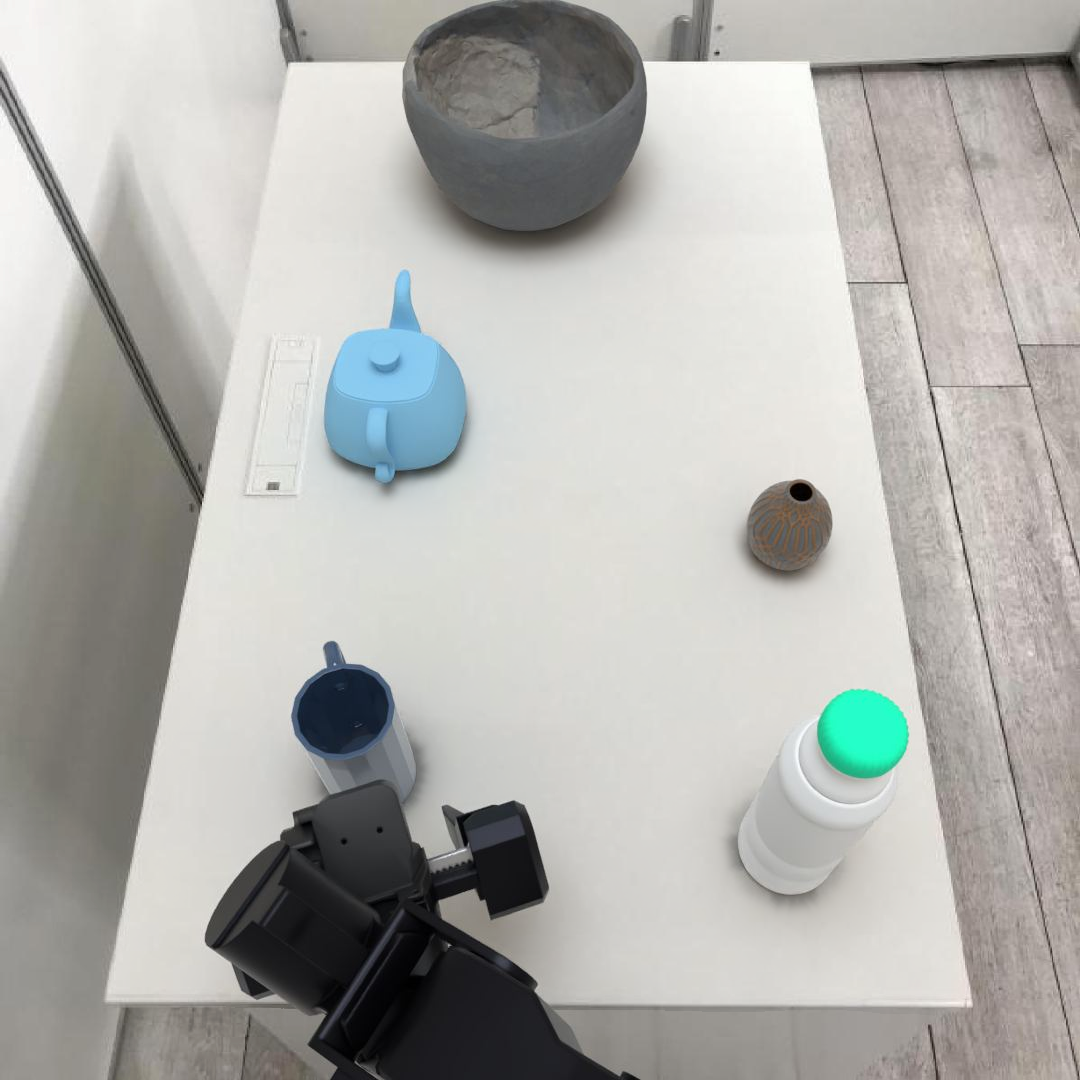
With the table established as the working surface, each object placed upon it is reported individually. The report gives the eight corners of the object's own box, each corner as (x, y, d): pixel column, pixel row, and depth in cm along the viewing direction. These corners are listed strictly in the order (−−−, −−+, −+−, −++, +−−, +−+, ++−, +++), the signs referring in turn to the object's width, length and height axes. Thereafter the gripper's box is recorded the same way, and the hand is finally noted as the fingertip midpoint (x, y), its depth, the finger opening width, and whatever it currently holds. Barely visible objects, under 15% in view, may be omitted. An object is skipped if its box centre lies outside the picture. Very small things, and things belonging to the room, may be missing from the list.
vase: (733, 570, 91) (750, 516, 83) (749, 505, 94) (766, 447, 87) (814, 591, 90) (838, 537, 82) (827, 524, 93) (851, 466, 86)
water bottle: (822, 910, 76) (924, 806, 55) (726, 878, 78) (789, 764, 56) (840, 818, 80) (944, 685, 58) (748, 788, 81) (816, 648, 60)
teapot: (472, 268, 95) (445, 430, 86) (479, 348, 104) (456, 503, 95) (332, 260, 96) (291, 420, 86) (352, 341, 105) (316, 493, 96)
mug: (426, 801, 81) (404, 741, 70) (338, 829, 80) (302, 772, 69) (394, 685, 86) (370, 612, 75) (311, 710, 85) (274, 639, 74)
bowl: (426, 111, 123) (411, -15, 110) (639, 114, 122) (648, -12, 109) (403, 265, 110) (383, 144, 97) (640, 270, 109) (651, 148, 96)
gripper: (530, 782, 56) (483, 682, 71) (172, 898, 53) (202, 768, 68) (577, 961, 58) (523, 828, 73) (240, 1079, 56) (255, 917, 71)
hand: (379, 832), depth 71 cm, fingers open, 9 cm apart
